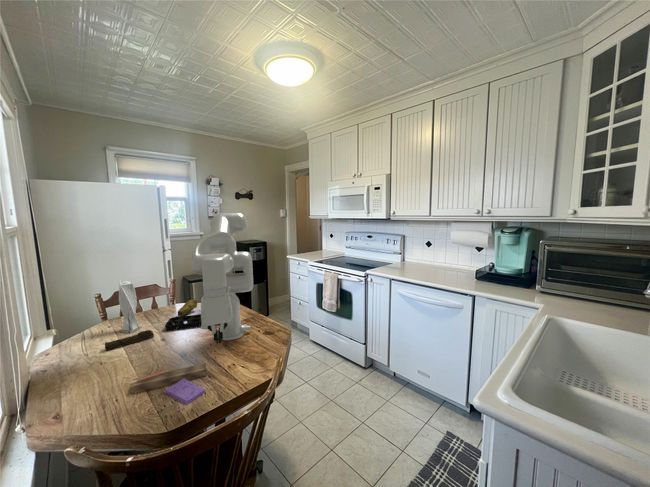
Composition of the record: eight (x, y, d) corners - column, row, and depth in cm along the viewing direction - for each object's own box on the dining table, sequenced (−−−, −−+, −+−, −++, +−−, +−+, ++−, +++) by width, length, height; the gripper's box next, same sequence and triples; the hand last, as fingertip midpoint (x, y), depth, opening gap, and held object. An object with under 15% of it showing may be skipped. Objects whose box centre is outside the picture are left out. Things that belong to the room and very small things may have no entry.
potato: (173, 315, 164) (172, 302, 163) (195, 309, 173) (194, 297, 173) (179, 318, 158) (178, 305, 157) (201, 312, 168) (200, 299, 167)
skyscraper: (116, 332, 141) (111, 280, 137) (129, 326, 149) (124, 277, 145) (131, 333, 140) (125, 281, 136) (143, 326, 148) (138, 277, 144)
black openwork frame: (165, 324, 151) (165, 318, 151) (221, 314, 166) (221, 308, 165) (164, 337, 136) (164, 330, 135) (226, 324, 151) (226, 317, 150)
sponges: (187, 406, 87) (186, 400, 87) (164, 393, 93) (164, 388, 93) (206, 393, 93) (205, 388, 93) (184, 382, 99) (183, 377, 99)
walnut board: (206, 368, 107) (205, 362, 106) (206, 375, 102) (205, 369, 102) (133, 385, 97) (133, 378, 97) (130, 393, 92) (129, 387, 92)
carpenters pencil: (165, 372, 100) (165, 370, 100) (166, 373, 99) (166, 372, 99) (131, 383, 94) (131, 381, 94) (131, 384, 93) (131, 382, 93)
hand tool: (105, 352, 121) (104, 343, 120) (105, 349, 124) (104, 339, 123) (154, 339, 133) (153, 330, 132) (153, 336, 136) (152, 328, 135)
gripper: (236, 286, 100) (239, 333, 102) (192, 292, 94) (195, 341, 96) (238, 291, 93) (241, 342, 95) (191, 298, 87) (195, 351, 89)
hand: (218, 341), depth 96 cm, fingers closed
